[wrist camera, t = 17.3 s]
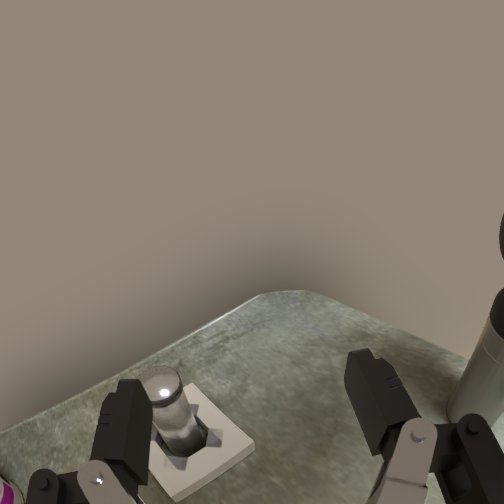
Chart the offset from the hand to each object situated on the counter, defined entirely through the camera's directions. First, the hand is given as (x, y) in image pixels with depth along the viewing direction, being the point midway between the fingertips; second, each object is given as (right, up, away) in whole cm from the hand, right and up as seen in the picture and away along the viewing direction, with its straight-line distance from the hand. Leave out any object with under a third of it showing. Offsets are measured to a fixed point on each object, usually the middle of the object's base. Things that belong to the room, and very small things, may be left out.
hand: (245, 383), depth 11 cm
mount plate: (-9, -21, +26) cm, 35 cm away
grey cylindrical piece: (-9, -21, +26) cm, 35 cm away
